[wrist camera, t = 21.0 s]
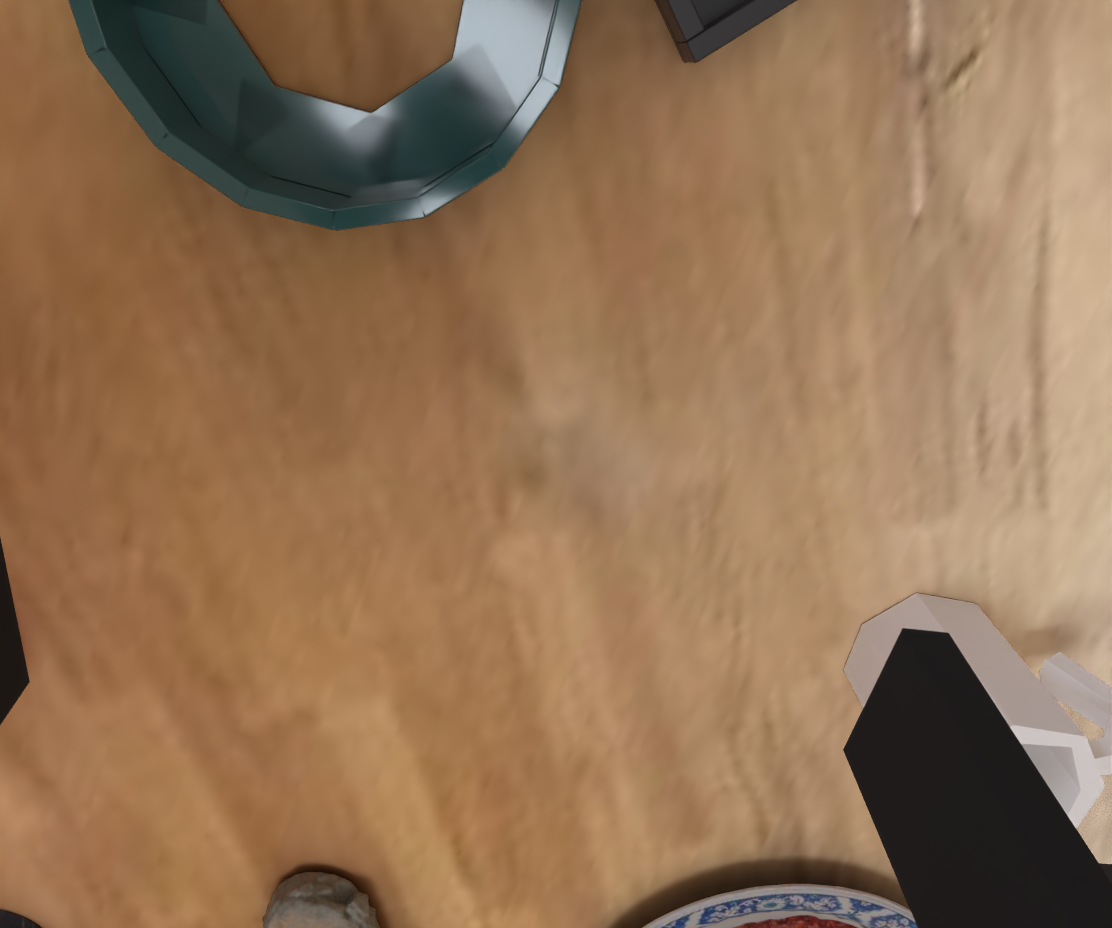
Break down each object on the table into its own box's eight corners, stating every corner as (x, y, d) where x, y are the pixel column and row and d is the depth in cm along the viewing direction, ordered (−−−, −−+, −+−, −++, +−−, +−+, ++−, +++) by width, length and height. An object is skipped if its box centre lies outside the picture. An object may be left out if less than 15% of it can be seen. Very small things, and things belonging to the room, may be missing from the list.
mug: (844, 726, 48) (915, 875, 40) (842, 604, 45) (920, 738, 36) (1054, 695, 48) (1175, 839, 39) (1070, 569, 44) (1207, 696, 35)
